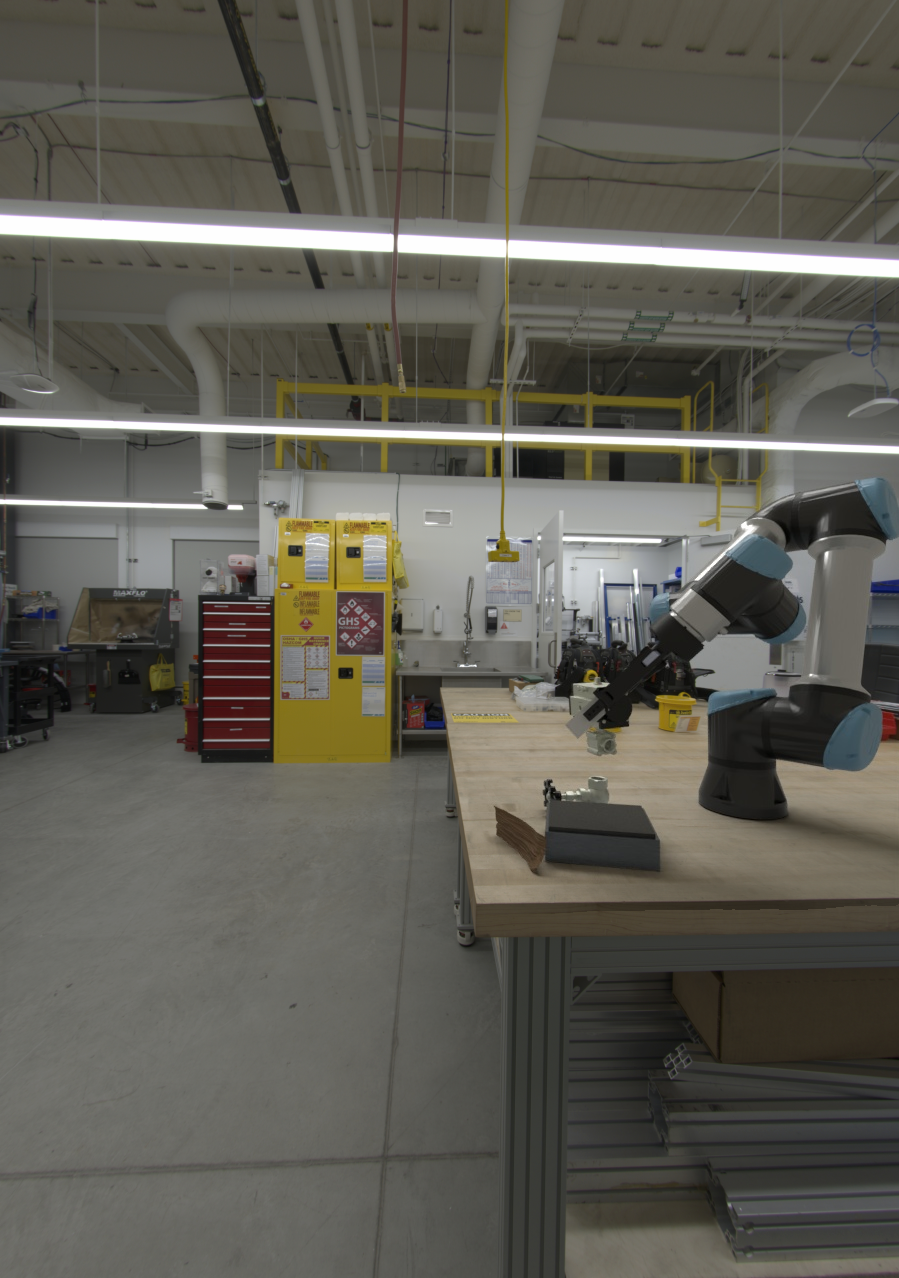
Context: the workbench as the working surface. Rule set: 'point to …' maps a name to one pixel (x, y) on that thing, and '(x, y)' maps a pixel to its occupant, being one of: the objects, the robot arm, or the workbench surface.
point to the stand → (601, 835)
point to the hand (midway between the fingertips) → (580, 726)
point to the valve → (580, 792)
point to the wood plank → (521, 837)
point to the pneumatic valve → (613, 718)
